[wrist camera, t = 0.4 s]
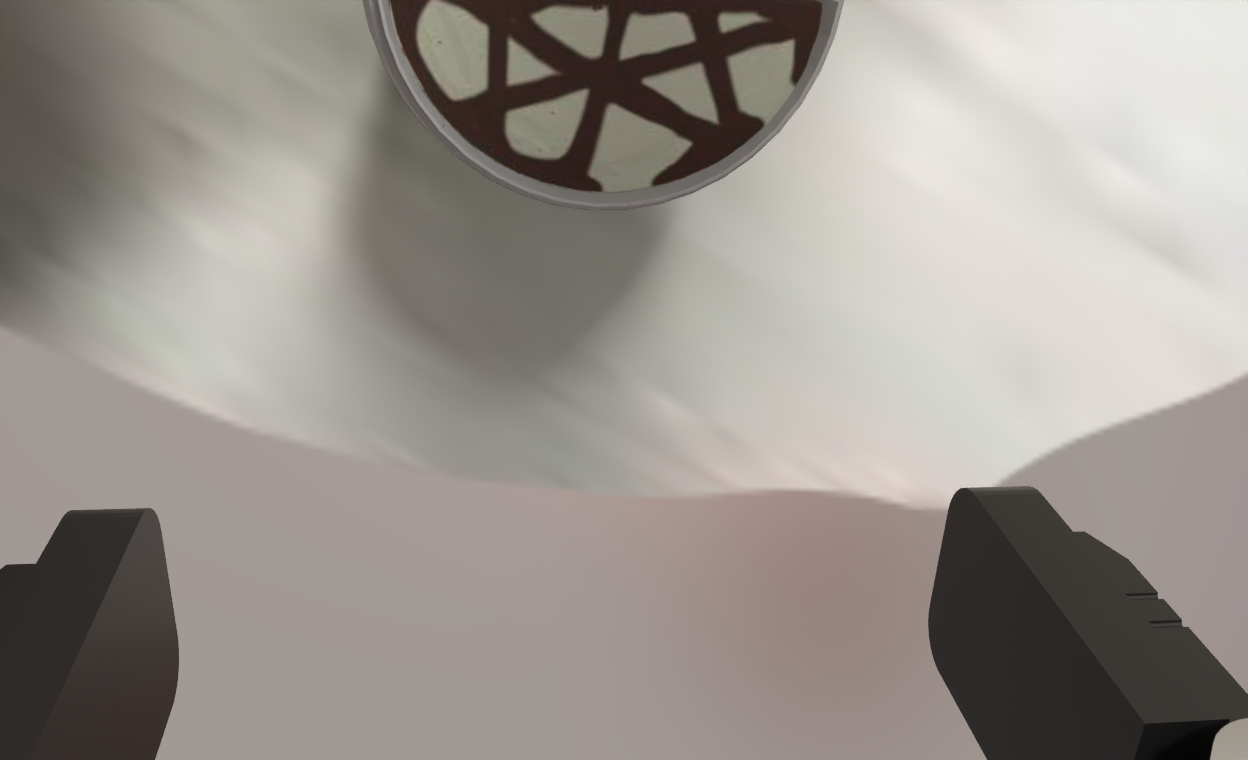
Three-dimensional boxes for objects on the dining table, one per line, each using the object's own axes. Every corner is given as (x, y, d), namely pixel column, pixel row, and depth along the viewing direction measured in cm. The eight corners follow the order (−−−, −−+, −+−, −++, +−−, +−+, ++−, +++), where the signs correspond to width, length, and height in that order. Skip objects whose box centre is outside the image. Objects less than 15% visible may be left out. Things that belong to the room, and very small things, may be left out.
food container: (373, 124, 38) (348, 213, 29) (376, -76, 36) (349, -46, 27) (737, 151, 40) (819, 243, 31) (765, -37, 38) (862, 4, 29)
